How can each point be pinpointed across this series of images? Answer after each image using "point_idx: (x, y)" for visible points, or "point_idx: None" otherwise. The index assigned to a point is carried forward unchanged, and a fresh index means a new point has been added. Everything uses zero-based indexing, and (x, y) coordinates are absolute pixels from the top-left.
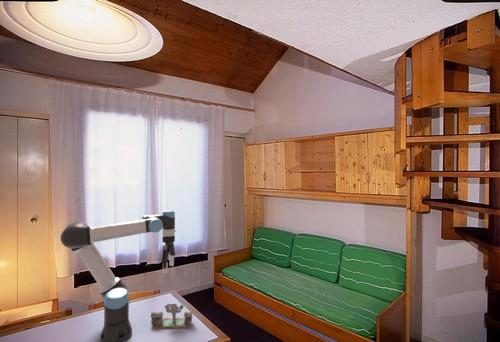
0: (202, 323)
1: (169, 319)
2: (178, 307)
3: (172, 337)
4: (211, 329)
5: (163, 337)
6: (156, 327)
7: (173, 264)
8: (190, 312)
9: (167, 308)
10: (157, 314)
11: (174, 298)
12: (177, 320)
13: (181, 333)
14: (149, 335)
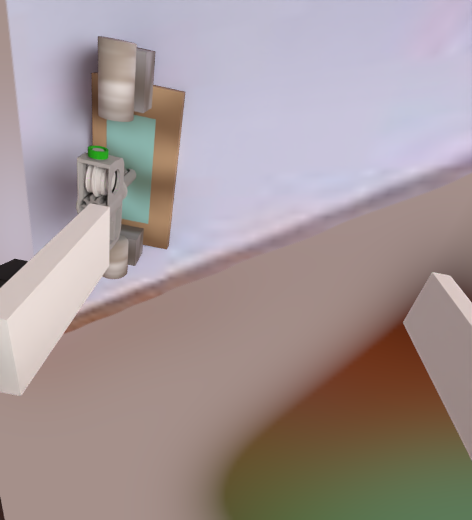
0: (133, 286)
1: (162, 147)
2: None
3: (24, 170)
4: (89, 311)
5: (20, 127)
6: (93, 79)
7: (411, 337)
8: (105, 272)
9: (84, 164)
10: (99, 87)
11: (444, 155)
12: (147, 189)
13: (57, 206)
14: (29, 46)
